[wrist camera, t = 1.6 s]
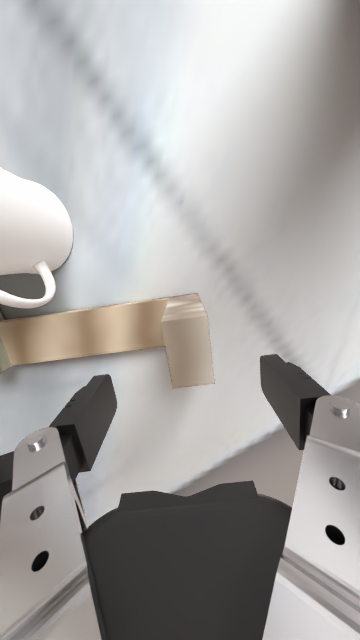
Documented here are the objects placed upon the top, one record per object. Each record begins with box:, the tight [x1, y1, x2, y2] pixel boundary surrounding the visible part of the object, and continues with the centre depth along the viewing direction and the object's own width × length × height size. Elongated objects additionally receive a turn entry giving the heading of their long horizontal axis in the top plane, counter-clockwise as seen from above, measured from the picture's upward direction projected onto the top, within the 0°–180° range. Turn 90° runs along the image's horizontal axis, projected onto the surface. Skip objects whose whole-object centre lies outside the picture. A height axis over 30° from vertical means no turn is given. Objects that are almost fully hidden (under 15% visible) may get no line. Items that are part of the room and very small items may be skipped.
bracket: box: [0, 293, 215, 388], centre depth 17 cm, size 23×19×9 cm
